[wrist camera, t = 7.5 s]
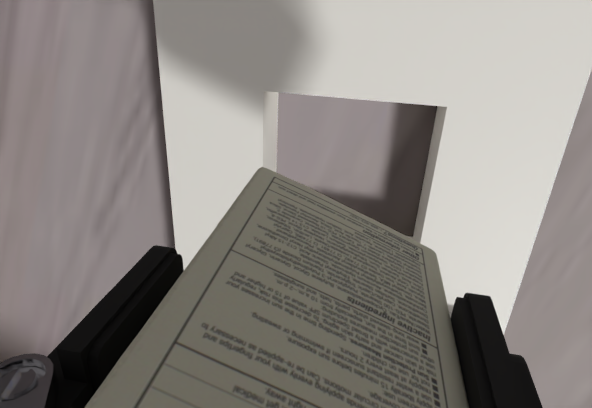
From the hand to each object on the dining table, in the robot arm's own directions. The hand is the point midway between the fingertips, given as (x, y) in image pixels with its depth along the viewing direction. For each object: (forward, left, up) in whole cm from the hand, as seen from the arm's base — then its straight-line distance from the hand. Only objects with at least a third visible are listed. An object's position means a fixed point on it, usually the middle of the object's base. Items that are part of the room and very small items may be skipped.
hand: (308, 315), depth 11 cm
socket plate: (0, 0, -13) cm, 13 cm away
